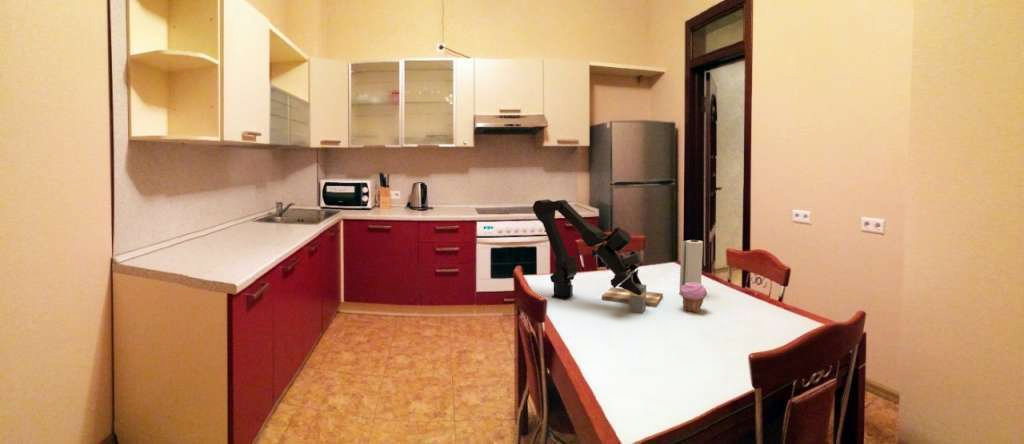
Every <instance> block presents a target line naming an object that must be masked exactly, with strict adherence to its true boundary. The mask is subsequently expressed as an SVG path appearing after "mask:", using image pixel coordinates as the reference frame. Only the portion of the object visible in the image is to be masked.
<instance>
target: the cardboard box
mask: <svg viewBox="0 0 1024 444" xmlns="http://www.w3.org/2000/svg"><path fill="white" fill-rule="evenodd" d="M662 299H664V294H663V293H661V292H653V291H646V307H653V308H657V306H658V305H659V304H660V302H661V301H662ZM601 300H602V301H609V302H616V303H624V304H629V305H630V291H628V290H626V289H623V288H621V287H615V288H614V287H613V286H611V287H610V288H609V289H608V290H607V291H606V292H605V293H603V294H602V295H601Z"/></svg>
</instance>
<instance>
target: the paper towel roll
mask: <svg viewBox="0 0 1024 444" xmlns="http://www.w3.org/2000/svg"><path fill="white" fill-rule="evenodd" d="M680 246H681V247H680V266H679V267H680V269H679V270H680V272H679V289H680V288H681V286H683V285H684V284H685V283H689V282H696V283H700V284H702V273H703V249H704V248H703V247H704V241H702V240H697V239H689V240H683V241H681V245H680ZM678 295H680V290H679V293H678ZM680 296H681V295H680Z"/></svg>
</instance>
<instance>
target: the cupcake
mask: <svg viewBox="0 0 1024 444" xmlns="http://www.w3.org/2000/svg"><path fill="white" fill-rule="evenodd" d="M679 291H680V296H681V297H682V307H683V309H684V310H685V311H689V312H693V313H698V312H699V310H700V309H701V307H702V305H703V302H704V299H705V298H706V297H708V291H707V289H706V287H705V286H704V285H703V284H702V283H701V284H700V283H696V282H689V283H685V284H684V285H683V286H681V288H680V287H679Z"/></svg>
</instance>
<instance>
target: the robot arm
mask: <svg viewBox="0 0 1024 444" xmlns="http://www.w3.org/2000/svg"><path fill="white" fill-rule="evenodd" d="M532 205H533V206H532V211H533V214H534V215H535V217H536V218H537V220H539V221H540V222H541V223H542V226H543V228H544V230H545V234H546V236H547V239H548V242H549V244H550V247H551V250H552V252H553V256H554V269H555V271H554V272H553V273H552V274H551V275H550V276H549V278H550V282H551V283H553V294H552V295H551V297H552V298H555V299H556V298H558V299H564V300H568V299H570V298H571V297H572V296H573V295H574V294H573V290H574V289H573V287H574V285H573V284H572V281H573V280H574V279H575V276H576V275H577V272H578V271H579V270H578V269H579V268H578V266H579V265H578V263H577V260H576V257H575V256H571V255H569V254H568V252H567V249H566V247H565V244H564V241H563V238H562V235H561V233H560V230H559V228H558V225H557V222H556V211H558V213H559V214H560V215H561V216H563V217H564V219H565V220H566V221H568V222H569V224H571V225H572V226H573V228H574V229H576V231H578V233H579V236H580V238H581V239H582V241H583V243H584V245H586V246H587V247H589V248H592V247H593V249H592V250H591V253H592V254H591V258H592V259H594V258H595V257H596V256H597V257H599V259H600V260H601V261H602V262H603V263H604V264H605V265H606V267H605V268H606V269H607V270H610V271H611V273H613V277H612V279H611V280H610V286H611V287H613V288H621V289H626V290H628V291H630V292H633V293H635V294H637V295H639V296H640V295H641V294H642V293H641V292H640V290H639V289H638V287H637V286H636V284H643V283H642V281H641V280H640V278H639V269H638V268H639V267H640V263H641V262H643V258H642V254H641V253H640V252H639V251H637V250H635V249H634V250H632V251H630V254H629V255H627V256H624V255H623V254H618V252H620V251H622V250H623V249H624V248H626V246H627V245H629V244H630V243H631V242H632V241H633V240H632V237H631V235H630V234H629V233H628V232H627V231H625V230H624V229H622V228H621V227H620V226H617V227H614V229H613V231H612V232H611V233H609V234H608V233H605V232H604V231H603V230H602V229H601V228H599V227H597V226H596V225H594V224H591V223H589V222H588V220H586V219H585V218H584V217H583V216H582V215H581V214H579V212H577V210H575V209H574V207H573V206H572V205H570V204H569V202H568V201H567V200H566V199H560V200H559V199H558V200H551V199H539V200H535V202H534V203H533V204H532ZM604 243H605V244H604ZM597 246H598V247H597ZM594 247H596V248H594Z"/></svg>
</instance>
